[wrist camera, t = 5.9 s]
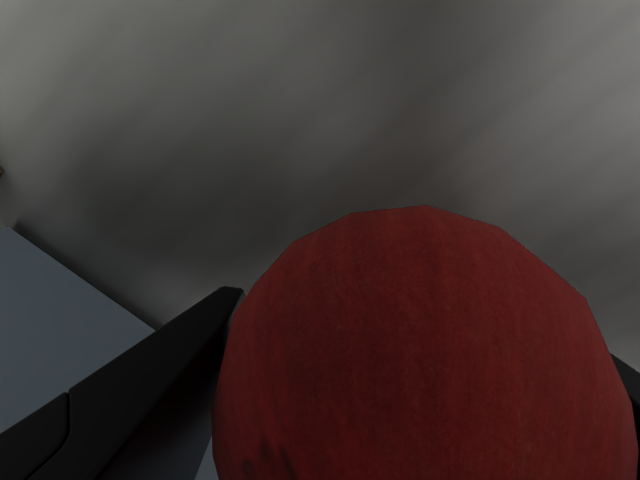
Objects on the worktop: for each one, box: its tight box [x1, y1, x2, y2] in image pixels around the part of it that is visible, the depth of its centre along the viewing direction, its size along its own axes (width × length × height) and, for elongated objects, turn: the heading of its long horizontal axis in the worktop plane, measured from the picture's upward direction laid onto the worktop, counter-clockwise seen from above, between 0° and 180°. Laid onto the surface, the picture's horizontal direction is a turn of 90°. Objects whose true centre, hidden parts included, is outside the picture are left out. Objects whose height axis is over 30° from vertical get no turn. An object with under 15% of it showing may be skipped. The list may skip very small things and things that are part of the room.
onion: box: [211, 205, 639, 480], centre depth 6 cm, size 6×6×8 cm
